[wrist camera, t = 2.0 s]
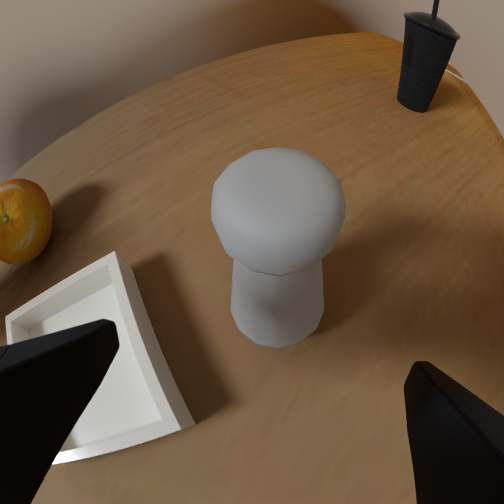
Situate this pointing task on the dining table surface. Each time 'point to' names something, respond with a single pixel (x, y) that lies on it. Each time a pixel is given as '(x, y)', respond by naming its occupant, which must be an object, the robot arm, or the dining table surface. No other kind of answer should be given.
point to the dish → (121, 369)
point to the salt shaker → (277, 240)
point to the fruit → (23, 221)
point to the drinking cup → (424, 57)
